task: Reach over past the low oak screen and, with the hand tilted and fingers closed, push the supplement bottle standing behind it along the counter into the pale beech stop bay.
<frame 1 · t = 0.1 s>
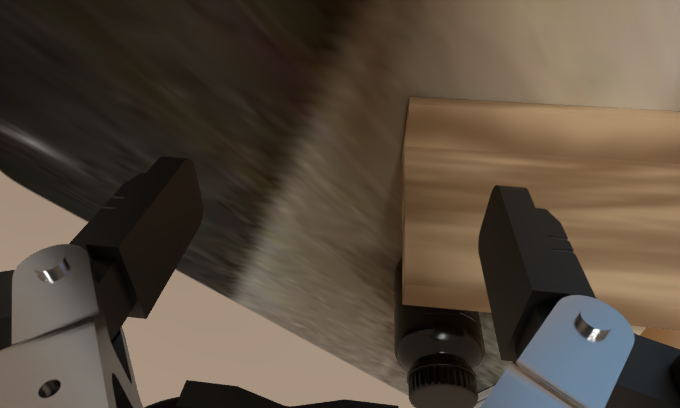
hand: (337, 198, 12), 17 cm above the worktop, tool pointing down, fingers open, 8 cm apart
supplement bottle: (432, 268, 39), on the worktop
oak screen: (531, 156, 30), on the worktop
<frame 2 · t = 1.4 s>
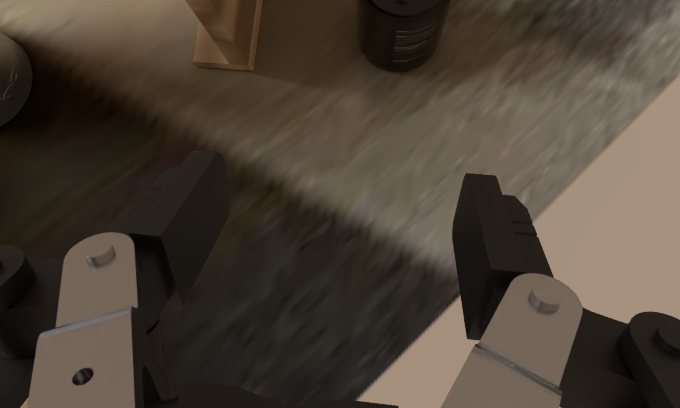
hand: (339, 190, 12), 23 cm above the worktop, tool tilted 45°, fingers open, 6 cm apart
supplement bottle: (397, 38, 37), on the worktop
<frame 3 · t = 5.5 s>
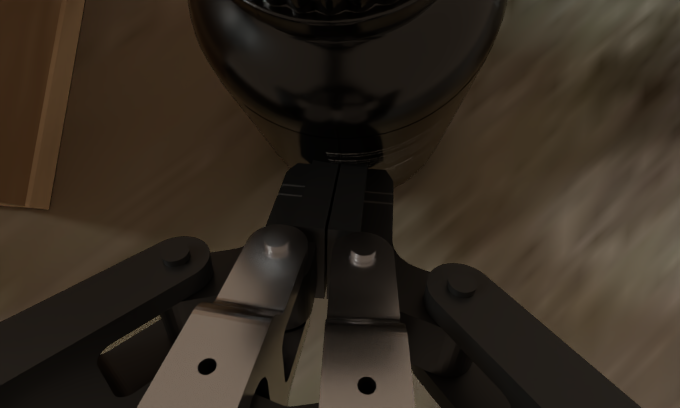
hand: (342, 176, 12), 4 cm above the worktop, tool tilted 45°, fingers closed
supplement bottle: (354, 116, 17), on the worktop, touching gripper
oak screen: (62, 3, 19), on the worktop
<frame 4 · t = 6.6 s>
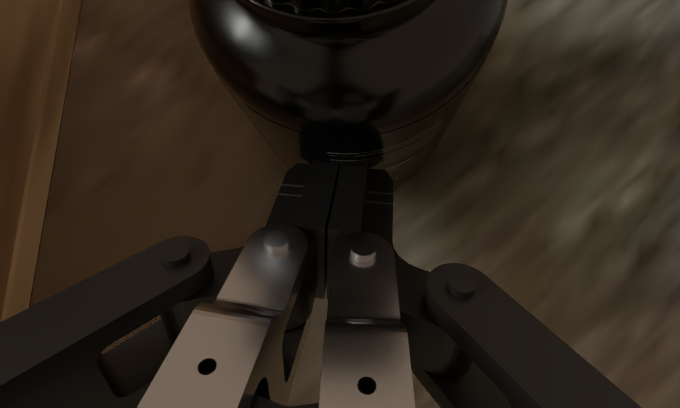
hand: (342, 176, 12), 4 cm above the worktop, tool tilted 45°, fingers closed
supplement bottle: (353, 118, 17), on the worktop, touching gripper
oak screen: (33, 144, 18), on the worktop
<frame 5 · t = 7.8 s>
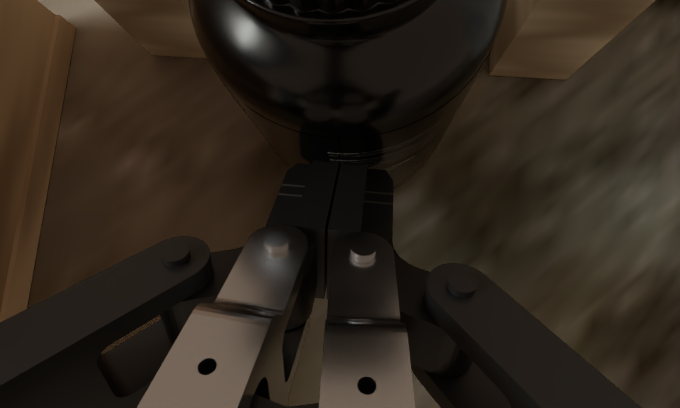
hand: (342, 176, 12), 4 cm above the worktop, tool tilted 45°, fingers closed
supplement bottle: (354, 117, 17), on the worktop, touching gripper
oak screen: (16, 234, 17), on the worktop
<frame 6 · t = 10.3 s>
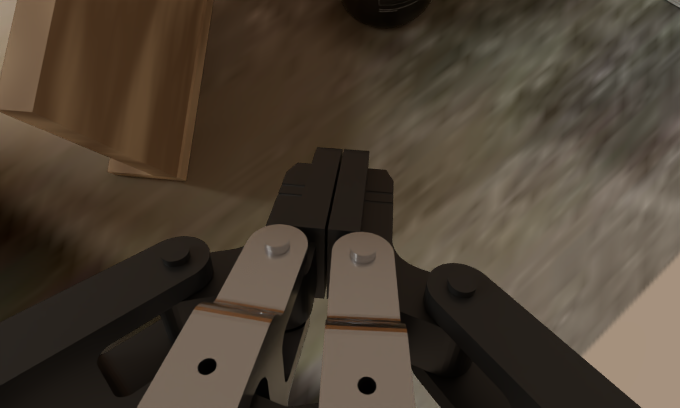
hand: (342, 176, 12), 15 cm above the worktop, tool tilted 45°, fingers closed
oak screen: (191, 55, 30), on the worktop
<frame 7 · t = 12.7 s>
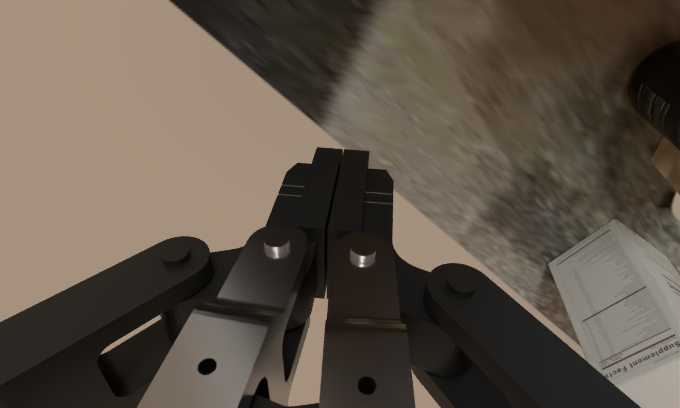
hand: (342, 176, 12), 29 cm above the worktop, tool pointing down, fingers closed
supplement bottle: (668, 77, 38), on the worktop
supplement box: (604, 258, 51), on the worktop
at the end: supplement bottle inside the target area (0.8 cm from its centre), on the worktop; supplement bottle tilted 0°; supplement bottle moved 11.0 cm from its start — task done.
